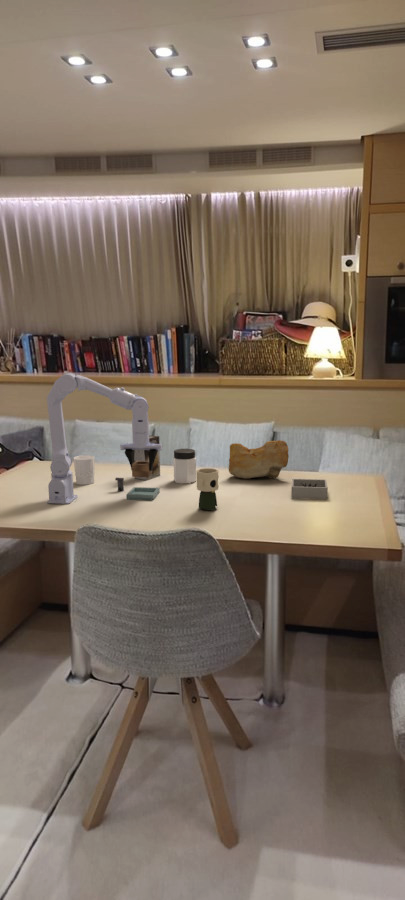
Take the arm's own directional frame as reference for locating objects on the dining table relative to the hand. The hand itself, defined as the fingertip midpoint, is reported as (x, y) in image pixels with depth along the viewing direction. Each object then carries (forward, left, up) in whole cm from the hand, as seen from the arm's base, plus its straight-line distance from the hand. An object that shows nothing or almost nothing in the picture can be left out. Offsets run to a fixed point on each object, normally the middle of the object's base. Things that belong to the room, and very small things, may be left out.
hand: (142, 469), depth 219 cm
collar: (0, 0, -2) cm, 2 cm away
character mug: (-13, -25, -10) cm, 30 cm away
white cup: (+16, +27, -10) cm, 33 cm away
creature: (+9, -59, -10) cm, 60 cm away
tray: (0, 0, -9) cm, 9 cm away
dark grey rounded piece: (+6, +10, -9) cm, 15 cm away
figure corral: (+8, -58, -9) cm, 59 cm away
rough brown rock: (+33, -39, -10) cm, 52 cm away
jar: (+22, -11, -10) cm, 26 cm away
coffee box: (+27, +5, -10) cm, 29 cm away
